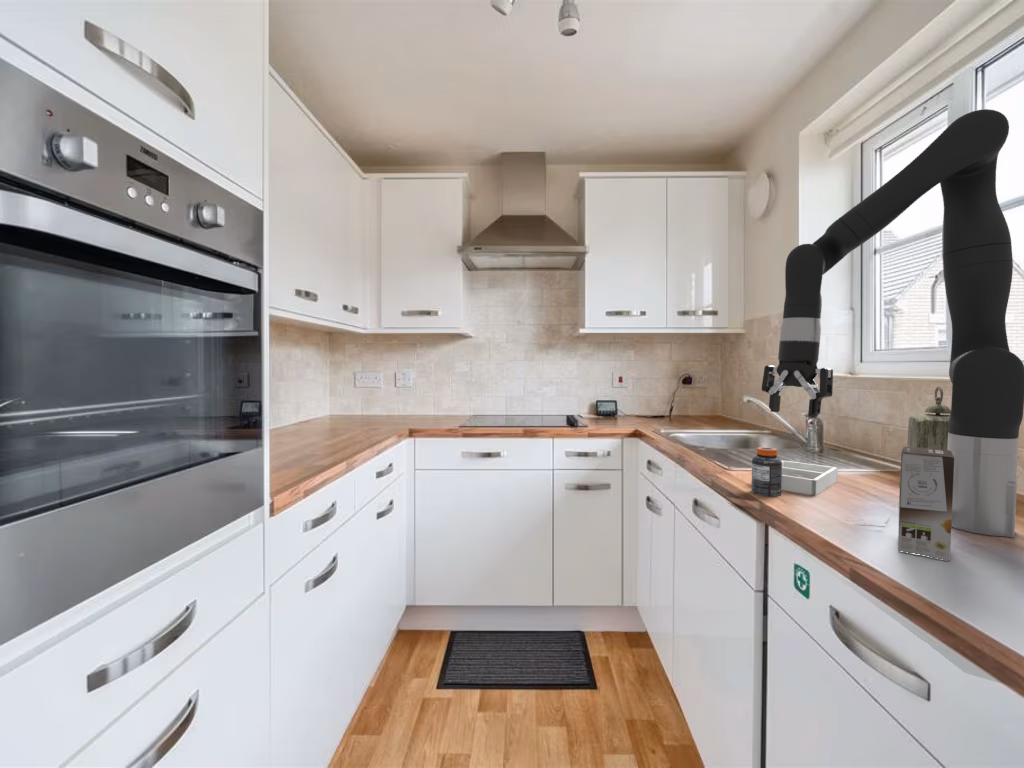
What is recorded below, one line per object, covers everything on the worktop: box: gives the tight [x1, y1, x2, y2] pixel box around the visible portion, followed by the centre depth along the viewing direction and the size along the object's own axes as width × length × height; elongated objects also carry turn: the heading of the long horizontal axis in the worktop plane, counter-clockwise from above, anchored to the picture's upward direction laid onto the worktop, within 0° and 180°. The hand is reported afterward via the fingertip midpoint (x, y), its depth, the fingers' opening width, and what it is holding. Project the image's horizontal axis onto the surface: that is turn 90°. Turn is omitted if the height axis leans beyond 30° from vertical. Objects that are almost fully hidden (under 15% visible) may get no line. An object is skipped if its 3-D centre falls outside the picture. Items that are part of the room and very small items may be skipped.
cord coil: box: [782, 473, 806, 478], centre depth 114 cm, size 6×6×2 cm
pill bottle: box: [751, 446, 782, 498], centre depth 108 cm, size 6×6×11 cm
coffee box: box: [897, 446, 954, 561], centre depth 78 cm, size 9×6×16 cm
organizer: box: [781, 460, 839, 496], centre depth 117 cm, size 13×20×4 cm, turn 135°
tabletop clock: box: [907, 386, 951, 450], centre depth 123 cm, size 14×9×25 cm, turn 148°
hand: (793, 414), depth 105 cm, fingers open, 8 cm apart
